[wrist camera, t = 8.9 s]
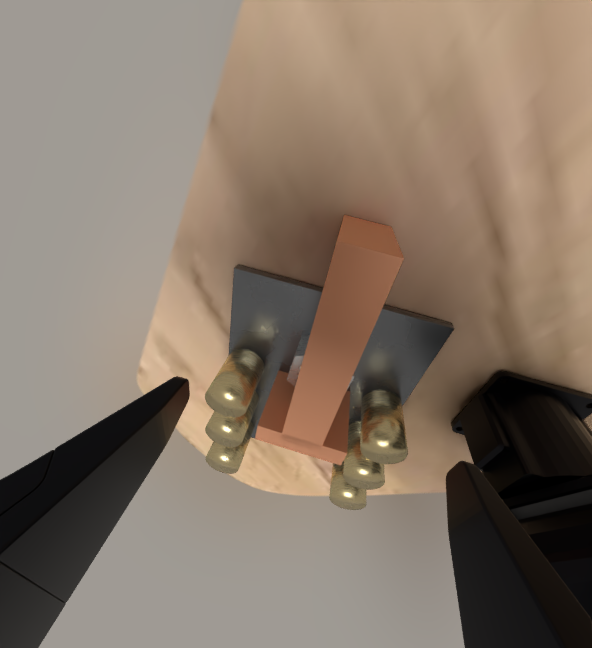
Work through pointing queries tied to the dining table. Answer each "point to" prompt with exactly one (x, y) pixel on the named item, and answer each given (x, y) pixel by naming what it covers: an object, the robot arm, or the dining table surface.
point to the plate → (277, 354)
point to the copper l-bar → (334, 345)
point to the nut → (298, 361)
